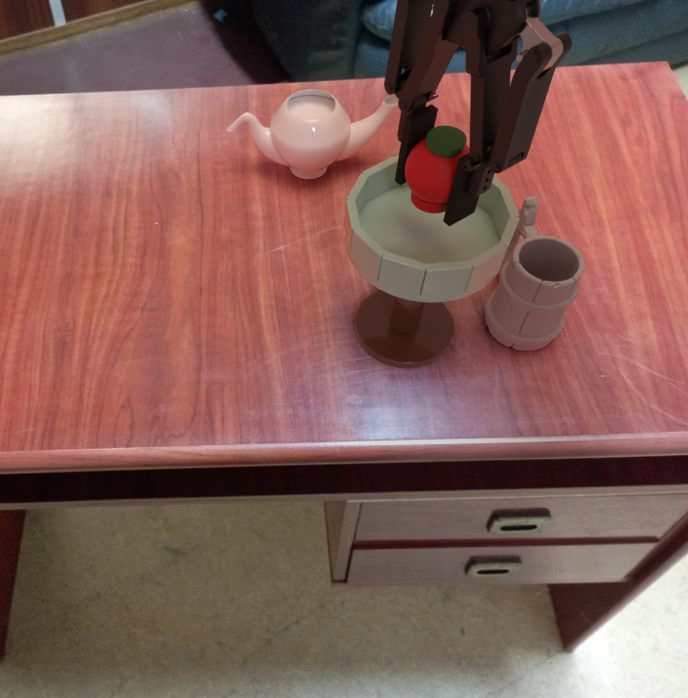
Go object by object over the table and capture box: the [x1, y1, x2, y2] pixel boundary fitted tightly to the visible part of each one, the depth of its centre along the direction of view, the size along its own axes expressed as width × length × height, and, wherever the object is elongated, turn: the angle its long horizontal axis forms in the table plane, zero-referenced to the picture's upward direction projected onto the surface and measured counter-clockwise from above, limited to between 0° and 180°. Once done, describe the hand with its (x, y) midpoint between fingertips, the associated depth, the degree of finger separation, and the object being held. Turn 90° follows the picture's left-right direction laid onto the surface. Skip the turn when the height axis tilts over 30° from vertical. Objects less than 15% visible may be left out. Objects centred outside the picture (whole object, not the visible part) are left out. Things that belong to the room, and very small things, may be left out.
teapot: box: [225, 88, 399, 180], centre depth 87 cm, size 10×20×9 cm, turn 90°
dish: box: [342, 154, 520, 369], centre depth 68 cm, size 14×14×17 cm
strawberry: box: [405, 125, 469, 214], centre depth 58 cm, size 5×5×6 cm
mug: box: [484, 195, 586, 352], centre depth 71 cm, size 8×12×12 cm, turn 7°
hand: (433, 195), depth 60 cm, fingers closed on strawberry, 5 cm apart
